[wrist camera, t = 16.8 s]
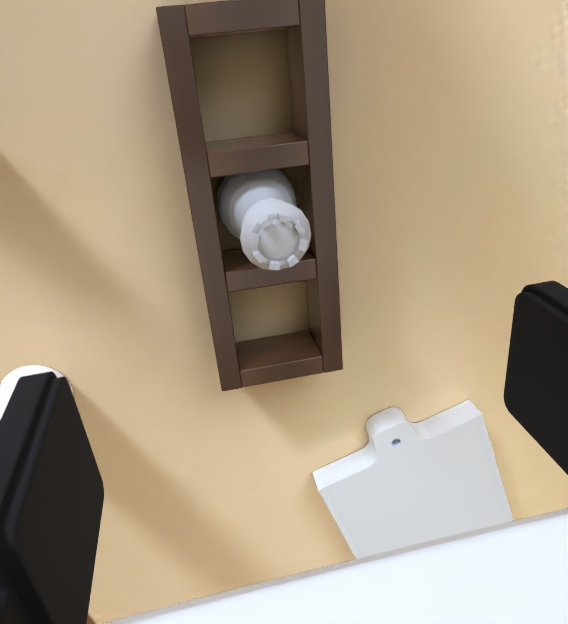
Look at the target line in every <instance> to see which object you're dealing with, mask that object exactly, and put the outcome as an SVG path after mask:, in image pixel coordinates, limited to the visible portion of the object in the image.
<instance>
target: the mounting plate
mask: <svg viewBox="0 0 568 624" xmlns="http://www.w3.org/2000/svg"><path fill="white" fill-rule="evenodd" d="M365 428H366V431H367V433H368V436H369V441H368V443H367V445H366V446H365V447H364V448H362V449H361V450H359V451H356V452H354V453H352V454H350V455H348V456H346V457H343V458H341V459H339V460H337V461H335V462H333V463H330V464H328V465H326V466H324V467H322V468H320V469H318V470H315V471H313V472H312V473H313V476H314V479H315V481H316V484H317V487H318V490H319V492H320V494H321V496H322V498H323V500H324V501H325V503H326V505H327V507H328V509H329V511H330V512H331V514H332V516H333V518H334V520H335V522H336V523H337V525H338V527H339V529H340V531H341V533H342V534H343V536H344V538H345V540H346V542H347V544H348V545H349V547H350V549H351V551H352V553H353V555H354V556H355V558H356V559H358V558H362V557H366V556H370V555H375V554H379V553H383V552H387V551H391V550H395V549H399V548H403V547H408V546H412V545H416V544H420V543H424V542H428V541H432V540H436V539H441V538H445V537H449V536H453V535H457V534H461V533H465V532H470V531H474V530H478V529H482V528H486V527H490V526H495V525H499V524H503V523H507V522H511V521H514V520H513V517H512V513H511V510H510V506H509V503H508V500H507V496H506V493H505V489H504V486H503V483H502V479H501V476H500V472H499V469H498V466H497V462H496V459H495V456H494V452H493V449H492V445H491V442H490V439H489V435H488V432H487V428H486V425H485V422H484V418H483V415H482V413H481V412H480V411H479V410H478V409H477V408H476V407H475V405H474V404H473V403H472V402H471V401H470V400H466V401H464V402H462V403H460V404H458V405H456V406H453V407H451V408H449V409H447V410H445V411H443V412H440V413H438V414H436V415H434V416H432V417H430V418H428V419H425V420H423V421H421V422H418V423H410V422H409V421H408V419H407V418H406V416H405V415H404V413H403V412H402V410H401V409H399V408H396V407H391V408H388V409H385V410H383V411H381V412H379V413H377V414H374V415H373V416H371V417H370V418H369V419H368V420H367V422H366V426H365Z"/></svg>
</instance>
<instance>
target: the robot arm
mask: <svg viewBox="0 0 568 624" xmlns="http://www.w3.org/2000/svg"><path fill="white" fill-rule="evenodd" d="M504 402H505V405H506V407H507V409H508V411H509V412H510V413H511V414H512V416H513V417H514V418H515V419H516V420H517V421H518V422H519V423H520V424H521V425H522V426H523V427H524V428H525V430H526V431H527V432H528V433H529V434H530V435H531V436H532V437H533V438H534V439H535V440H536V441H537V442H538V443H539V445H540V446H541V447H542V448H543V449H544V450H545V451H546V452H547V453H548V454H549V455H550V456H551V457H552V458H553V460H554V461H555V462H556V463H557V464H558V465H559V466H560V467H561V468H562V469H563V470H564V471H565V472H566V474H567V475H568V288H566V287H565V286H563V285H561V284H560V283H558V282H555V281H548V282H542V283H537V284H531V285H527V286H525V287H524V288H523V290H522V292H521V293H519V294H518V295H517V297H516V299H515V305H514V313H513V322H512V330H511V338H510V347H509V355H508V364H507V372H506V380H505V389H504ZM103 500H104V488H103V482H102V478H101V475H100V472H99V469H98V467H97V464H96V461H95V458H94V455H93V452H92V449H91V446H90V443H89V440H88V438H87V435H86V432H85V429H84V426H83V423H82V420H81V417H80V414H79V411H78V409H77V406H76V403H75V400H74V397H73V394H72V391H71V388H70V385H69V383H68V380H67V379H66V377H59V378H57V376H56V375H55V373H54V372H52V371H50V372H45V373H39V374H33V375H28V376H23V377H20V378H19V380H18V382H17V384H16V386H15V388H14V391H13V393H12V395H11V397H10V400H9V402H8V404H7V406H6V409H5V411H4V413H3V415H2V418H1V420H0V624H86V622H87V615H88V608H89V601H90V593H91V586H92V579H93V572H94V565H95V558H96V550H97V543H98V536H99V529H100V522H101V515H102V508H103ZM103 624H568V508H566V509H562V510H558V511H553V512H549V513H545V514H541V515H536V516H532V517H528V518H524V519H519V520H515V521H511V522H507V523H503V524H499V525H495V526H490V527H486V528H482V529H478V530H474V531H470V532H465V533H461V534H457V535H453V536H449V537H445V538H441V539H436V540H432V541H428V542H424V543H420V544H416V545H412V546H408V547H403V548H399V549H395V550H391V551H387V552H383V553H379V554H375V555H370V556H366V557H362V558H358V559H354V560H350V561H346V562H342V563H338V564H334V565H330V566H326V567H322V568H318V569H314V570H310V571H306V572H301V573H297V574H293V575H289V576H285V577H281V578H277V579H273V580H269V581H265V582H261V583H257V584H253V585H249V586H245V587H241V588H237V589H233V590H229V591H225V592H221V593H217V594H213V595H209V596H205V597H201V598H197V599H193V600H189V601H186V602H182V603H178V604H174V605H170V606H167V607H163V608H159V609H155V610H151V611H148V612H144V613H140V614H136V615H132V616H129V617H125V618H121V619H117V620H114V621H110V622H106V623H103Z"/></svg>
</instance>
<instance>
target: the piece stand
mask: <svg viewBox="0 0 568 624" xmlns="http://www.w3.org/2000/svg"><path fill="white" fill-rule="evenodd" d="M156 11H157V17H158V23H159V28H160V34H161V40H162V46H163V52H164V57H165V63H166V69H167V75H168V81H169V87H170V92H171V98H172V104H173V110H174V116H175V121H176V127H177V133H178V139H179V145H180V150H181V156H182V162H183V168H184V174H185V179H186V185H187V191H188V197H189V203H190V208H191V214H192V220H193V226H194V232H195V238H196V243H197V249H198V255H199V261H200V267H201V272H202V278H203V284H204V290H205V296H206V301H207V307H208V313H209V319H210V325H211V330H212V336H213V342H214V348H215V354H216V359H217V365H218V371H219V377H220V383H221V388H222V391H227V390H233V389H238V388H242V387H247V386H253V385H258V384H264V383H269V382H275V381H280V380H286V379H291V378H297V377H302V376H308V375H313V374H319V373H323V372H324V373H326V372H331V371H337V370H342V369H343V362H342V342H341V321H340V301H339V281H338V260H337V240H336V219H335V199H334V178H333V158H332V138H331V117H330V97H329V76H328V56H327V35H326V15H325V0H230V1H218V2H207V3H196V4H185V5H173V6H162V7H156ZM280 29H286V37H287V50H288V63H289V76H290V88H291V101H292V114H293V126H294V132H288V133H280V134H272V135H264V136H256V137H248V138H239V139H231V140H223V141H215V142H207V143H205V139H204V133H203V126H202V120H201V113H200V106H199V100H198V93H197V86H196V80H195V73H194V67H193V60H192V53H191V47H190V40H189V38H198V37H208V36H218V35H229V34H239V33H249V32H260V31H270V30H280ZM289 167H297V177H298V190H299V202H300V210H301V211H302V212H303V214H304V215H305V217H306V218H307V220H308V221H309V225H310V231H311V238H310V242H309V247H308V249H307V251H306V252H305V254H304V255H303V257H302V258H301V259H300V260H299V262H298V263H296V264H295V265H293V266H292V267H288V268H284V269H280V270H277V271H276V270H267V269H262V268H260V267H259V266H257V265H255V264H253V263H251V261H250V260H249V259H248V257H247V256H246V255H245V254H244V252H243V249H236V250H229V251H222V252H221V245H220V238H219V232H218V225H217V219H216V212H215V205H214V199H213V192H212V186H211V179H210V177H211V178H213V177H221V176H228V175H236V174H244V173H251V172H259V171H267V170H274V169H282V168H289ZM303 280H306V291H307V304H308V317H309V329H310V331H309V330H307V331H301V332H296V333H290V334H284V335H278V336H272V337H267V338H261V339H255V340H249V341H243V342H237V343H235V338H234V331H233V324H232V318H231V311H230V305H229V298H228V292H234V291H241V290H247V289H253V288H260V287H266V286H272V285H278V284H285V283H291V282H297V281H303Z"/></svg>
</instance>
